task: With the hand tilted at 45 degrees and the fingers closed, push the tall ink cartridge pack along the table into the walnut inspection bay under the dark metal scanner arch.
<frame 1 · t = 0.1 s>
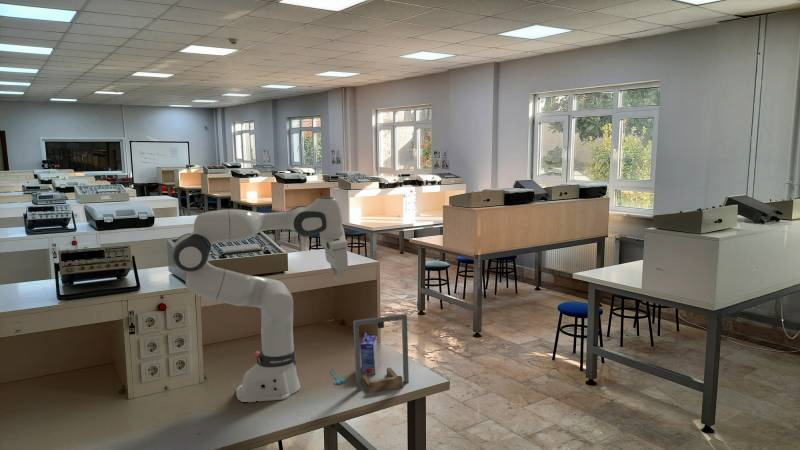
hand: (338, 277, 203), 39 cm above the table, tool pointing down, fingers open, 8 cm apart
scanner arch: (381, 352, 199), resting in inspection bay
ink cartridge box: (370, 370, 216), on the table
adjustable wrench: (336, 378, 209), on the table
inspection bay: (380, 382, 203), on the table
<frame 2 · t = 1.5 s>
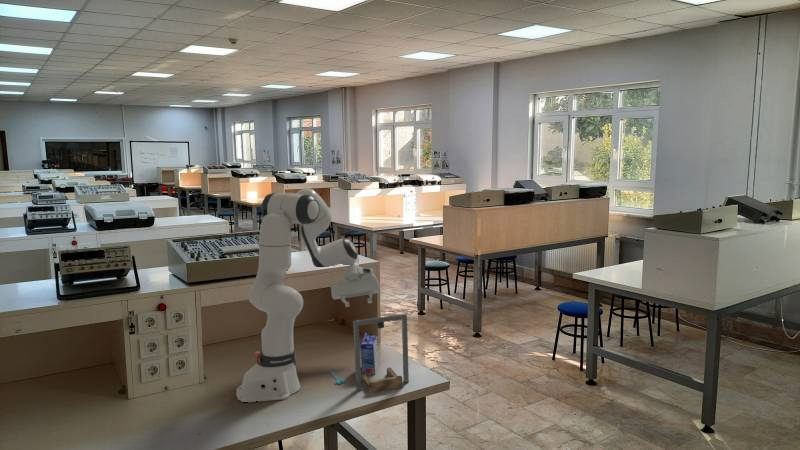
hand: (359, 304, 228), 22 cm above the table, tool tilted 45°, fingers open, 8 cm apart
nothing on the table moved.
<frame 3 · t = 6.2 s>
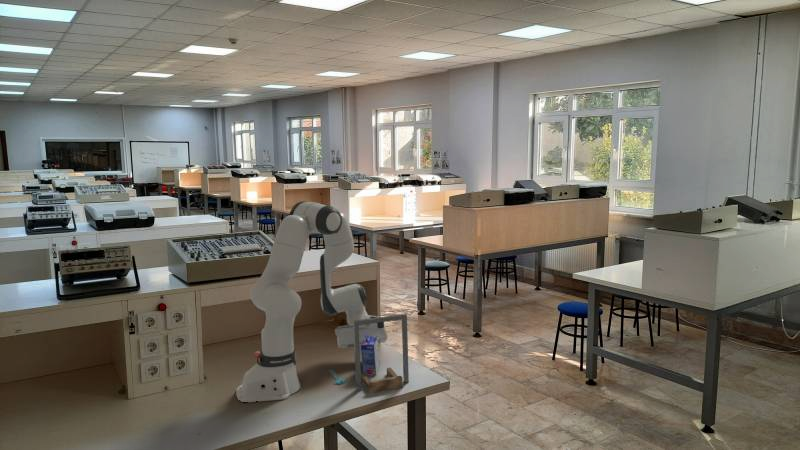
hand: (366, 354, 220), 4 cm above the table, tool tilted 45°, fingers closed, pressing on ink cartridge box
ink cartridge box: (371, 370, 215), on the table, touching gripper
everything else where it was.
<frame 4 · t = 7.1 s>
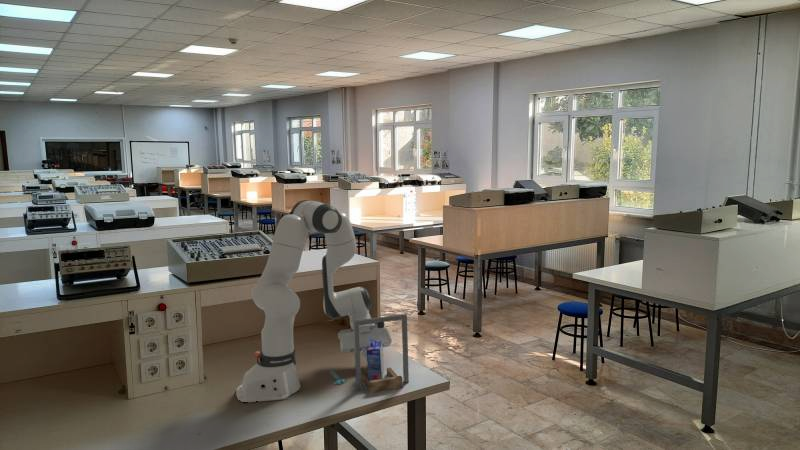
hand: (370, 359, 215), 4 cm above the table, tool tilted 45°, fingers closed, pressing on ink cartridge box
ink cartridge box: (375, 375, 210), on the table, touching gripper
everything else where it was.
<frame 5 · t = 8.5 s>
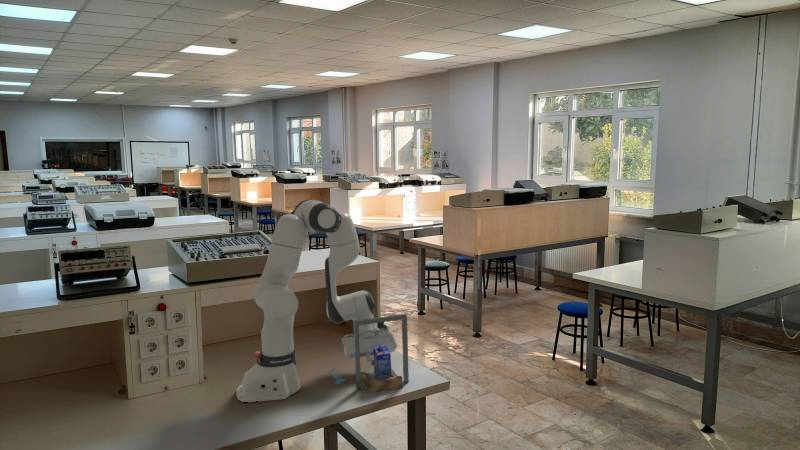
hand: (374, 364, 209), 4 cm above the table, tool tilted 45°, fingers closed, pressing on ink cartridge box
ink cartridge box: (382, 381, 205), resting in inspection bay, touching gripper
everything else where it was.
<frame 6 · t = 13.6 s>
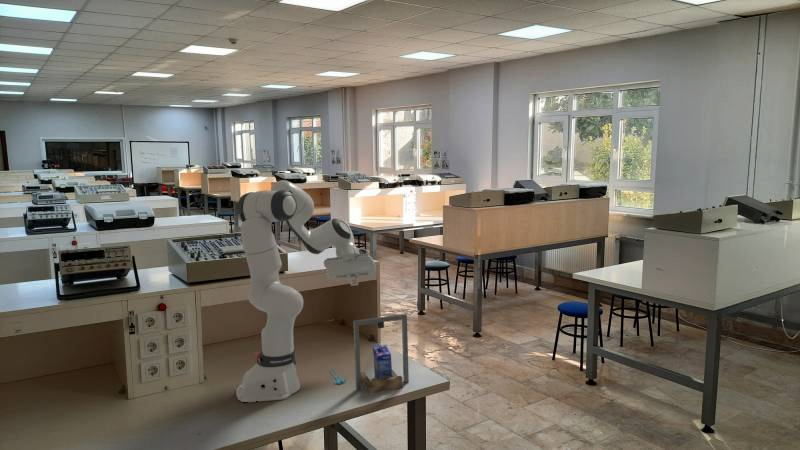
hand: (354, 284, 221), 31 cm above the table, tool tilted 45°, fingers closed
ink cartridge box: (383, 382, 204), resting in inspection bay
everything else where it was.
at the end: ink cartridge box inside the target area (1.3 cm from its centre), resting in inspection bay; ink cartridge box tilted 0°; ink cartridge box moved 12.6 cm from its start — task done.
